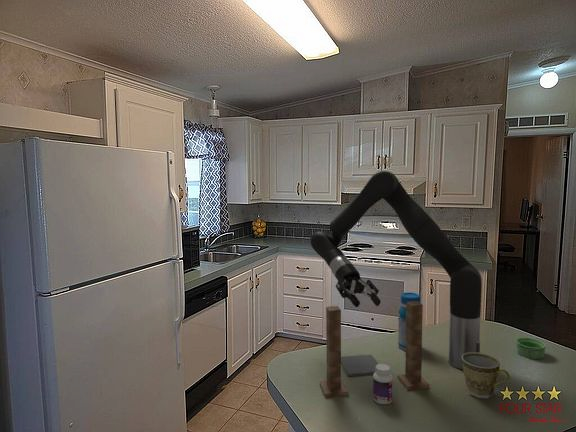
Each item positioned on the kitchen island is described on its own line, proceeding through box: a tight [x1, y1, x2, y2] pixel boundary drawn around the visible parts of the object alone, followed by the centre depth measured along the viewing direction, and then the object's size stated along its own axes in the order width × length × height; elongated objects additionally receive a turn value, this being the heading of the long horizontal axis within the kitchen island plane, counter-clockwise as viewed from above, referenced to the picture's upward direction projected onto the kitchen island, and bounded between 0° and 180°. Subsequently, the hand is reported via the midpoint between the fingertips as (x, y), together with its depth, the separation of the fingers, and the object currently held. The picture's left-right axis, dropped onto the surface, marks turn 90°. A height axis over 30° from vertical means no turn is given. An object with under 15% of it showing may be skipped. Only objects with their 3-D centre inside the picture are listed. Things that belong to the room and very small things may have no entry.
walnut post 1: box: [319, 305, 350, 399], centre depth 115 cm, size 7×7×25 cm
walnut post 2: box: [397, 301, 430, 391], centre depth 118 cm, size 7×7×25 cm
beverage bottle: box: [397, 292, 421, 352], centre depth 143 cm, size 8×8×20 cm
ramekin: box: [515, 337, 547, 360], centre depth 137 cm, size 9×9×4 cm
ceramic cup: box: [462, 352, 510, 400], centre depth 112 cm, size 13×10×10 cm
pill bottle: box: [372, 363, 393, 405], centre depth 110 cm, size 5×5×10 cm
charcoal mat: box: [341, 354, 379, 377], centre depth 130 cm, size 12×12×1 cm
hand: (368, 304), depth 124 cm, fingers open, 8 cm apart
